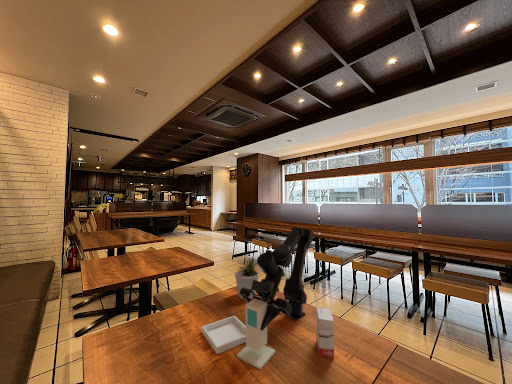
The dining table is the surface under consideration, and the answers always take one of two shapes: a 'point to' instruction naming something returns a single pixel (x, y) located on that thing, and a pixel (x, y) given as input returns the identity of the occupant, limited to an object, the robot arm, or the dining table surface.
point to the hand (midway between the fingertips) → (254, 327)
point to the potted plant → (246, 276)
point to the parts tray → (225, 334)
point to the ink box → (325, 332)
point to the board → (256, 356)
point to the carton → (255, 324)
